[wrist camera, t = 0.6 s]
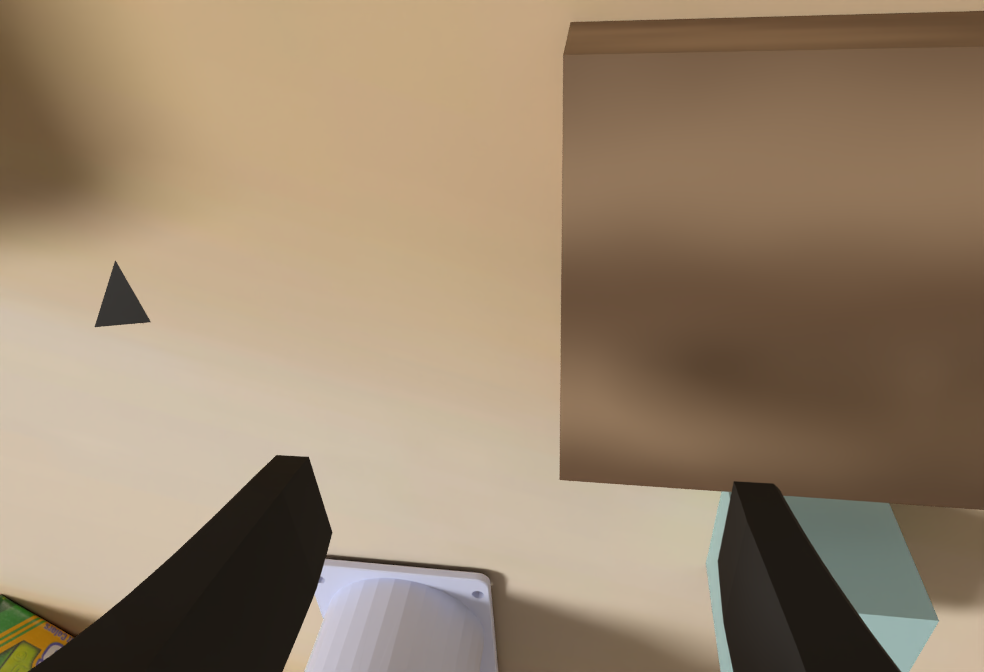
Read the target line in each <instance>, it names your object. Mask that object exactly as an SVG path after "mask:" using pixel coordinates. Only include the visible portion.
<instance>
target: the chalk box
mask: <svg viewBox="0 0 984 672" xmlns="http://www.w3.org/2000/svg"><path fill="white" fill-rule="evenodd" d="M73 638H74V637H73V636H71V635H69V634H67V633H66V632H64V631H62V630H61V629H59V628H57V627H55V626H54V625H52V624H50V623H49V622H47V621H45V620H43V619H42V618H40V617H38V616H36V615H35V614H33V613H31V612H29V611H28V610H26V609H24V608H23V607H21V606H19V605H17V604H16V603H14V602H13V601H11V600H9V599H8V598H6V597H5V596H3V595H0V672H28V671H29V670H31V669H32V668H33V667H35V666H36V665H38V664H39V663H41V662H42V661H44V660H45V659H46V658H48V657H49V656H51V655H52V654H53V653H55V652H56V651H57V650H59V649H60V648H62V647H63V646H64V645H66V644H67V643H68V642H69V641H71V640H72V639H73Z"/></svg>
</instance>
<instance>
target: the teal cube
mask: <svg viewBox="0 0 984 672" xmlns="http://www.w3.org/2000/svg"><path fill="white" fill-rule="evenodd" d="M730 497H731V492H724V491H722V492H721V497H720V501H719V506H718V510H717V515H716V520H715V524H714V529H713V534H712V538H711V543H710V548H709V552H708V557H707V562H706V568H707V575H708V583H709V590H710V597H711V605H712V612H713V620H714V627H715V635H716V642H717V649H718V657H719V664H720V672H733V669H732V664H731V659H730V654H729V649H728V644H727V639H726V634H725V629H724V624H723V615H722V605H721V595H720V583H719V572H718V556H719V552H720V547H721V542H722V537H723V532H724V527H725V522H726V517H727V512H728V507H729V502H730ZM784 498H785V500H786V502H787V503H788V505H789V507H790V509H791V510H792V512H793V514H794V516H795V517H796V519H797V521H798V522H799V524H800V526H801V527H802V529H803V531H804V532H805V534H806V536H807V537H808V539H809V540H810V542H811V544H812V545H813V547H814V548H815V550H816V552H817V553H818V555H819V556H820V558H821V559H822V561H823V563H824V564H825V566H826V567H827V569H828V570H829V572H830V573H831V575H832V576H833V578H834V579H835V581H836V582H837V584H838V585H839V587H840V588H841V589H842V591H843V592H844V594H845V595H846V597H847V598H848V600H849V601H850V603H851V604H852V605H853V607H854V608H855V610H856V611H857V613H858V614H859V616H860V617H861V618H862V620H863V621H864V623H865V624H866V625H867V627H868V628H869V629H870V631H871V632H872V634H873V635H874V636H875V638H876V639H877V640H878V642H879V643H880V644H881V646H882V647H883V648H884V650H885V651H886V652H887V654H888V655H889V656H890V658H891V659H892V660H893V661H894V663H895V664H896V665H897V667H898V668H899V669H900V671H901V672H909V671H910V669H911V668H912V666H913V664H914V663H915V661H916V659H917V657H918V656H919V654H920V652H921V651H922V649H923V647H924V646H925V644H926V642H927V641H928V639H929V637H930V635H931V634H932V632H933V630H934V629H935V627H936V625H937V624H938V622H939V620H938V617H937V615H936V612H935V610H934V608H933V605H932V603H931V601H930V598H929V596H928V594H927V591H926V589H925V587H924V584H923V582H922V579H921V577H920V575H919V572H918V570H917V568H916V565H915V563H914V561H913V558H912V556H911V554H910V551H909V549H908V546H907V544H906V542H905V539H904V537H903V535H902V532H901V530H900V528H899V525H898V523H897V521H896V518H895V516H894V513H893V511H892V509H891V506H890V504H889V503H880V502H866V501H852V500H838V499H824V498H809V497H795V496H784Z"/></svg>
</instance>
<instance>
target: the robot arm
mask: <svg viewBox="0 0 984 672" xmlns="http://www.w3.org/2000/svg"><path fill="white" fill-rule="evenodd" d="M331 535H332V530H331V527H330V524H329V520H328V517H327V514H326V511H325V508H324V504H323V501H322V498H321V495H320V492H319V488H318V485H317V482H316V479H315V476H314V472H313V469H312V466H311V463H310V460H309V457H299V456H281V455H276V456H275V457H274V458H273V459H272V460H271V461H270V462H269V463H268V464H267V465H266V466H265V467H264V468H263V469H262V470H260V471H259V472H258V473H257V474H256V475H255V476H254V477H253V478H252V479H251V480H250V481H249V482H248V483H247V484H246V485H245V486H244V487H243V488H242V489H241V490H240V491H239V492H238V493H237V494H236V495H235V496H234V497H233V498H232V499H231V500H230V501H229V502H228V503H227V504H226V505H225V506H224V507H223V508H222V509H221V510H220V511H219V512H218V513H217V514H216V515H215V516H214V517H213V518H212V519H211V520H209V521H208V522H207V523H206V524H205V525H204V526H203V527H202V528H201V529H200V530H199V531H198V532H197V533H196V534H195V535H194V536H193V537H192V538H191V539H189V540H188V541H187V542H186V543H185V544H184V545H183V546H182V547H181V548H180V549H179V550H178V551H177V552H176V553H175V554H174V555H172V556H171V557H170V558H169V559H168V560H167V561H166V562H165V563H164V564H162V565H161V566H160V567H159V568H158V569H157V570H156V571H155V572H153V573H152V574H151V575H150V576H149V577H148V578H147V579H145V580H144V581H143V582H142V583H141V584H140V585H139V586H137V587H136V588H135V589H134V590H133V591H132V592H131V593H130V594H128V595H127V596H126V597H125V598H124V599H122V600H121V601H120V602H119V603H118V604H116V605H115V606H114V607H113V608H112V609H110V610H109V611H108V612H107V613H105V614H104V615H103V616H102V617H100V618H99V619H98V620H97V621H95V622H94V623H93V624H92V625H90V626H89V627H88V628H86V629H85V630H84V631H82V632H81V633H80V634H79V635H77V636H76V637H75V638H73V639H72V640H71V641H69V642H68V643H67V644H66V645H64V646H63V647H62V648H60V649H59V650H57V651H56V652H55V653H53V654H52V655H51V656H49V657H48V658H46V659H45V660H44V661H42V662H41V663H39V664H38V665H36V666H35V667H33V668H32V669H31V670H29V671H28V672H282V671H283V669H284V667H285V664H286V662H287V660H288V657H289V655H290V652H291V650H292V648H293V645H294V643H295V640H296V638H297V636H298V633H299V631H300V628H301V626H302V624H303V621H304V619H305V616H306V614H307V611H308V609H309V606H310V604H311V602H312V599H313V596H314V594H315V597H316V600H317V603H318V606H319V608H320V611H321V614H322V617H323V622H322V625H321V628H320V631H319V633H318V636H317V639H316V641H315V644H314V647H313V649H312V652H311V655H310V658H309V660H308V663H307V666H306V668H305V671H304V672H498V662H497V650H496V639H495V628H494V617H493V606H492V594H491V583H490V579H489V578H488V577H487V576H486V575H484V574H481V573H475V572H464V571H453V570H442V569H431V568H420V567H409V566H399V565H388V564H377V563H366V562H355V561H344V560H333V559H325V558H326V554H327V551H328V547H329V543H330V539H331ZM718 572H719V583H720V595H721V605H722V615H723V624H724V629H725V634H726V639H727V644H728V649H729V654H730V659H731V664H732V669H733V672H901V671H900V669H899V668H898V667H897V665H896V664H895V663H894V661H893V660H892V659H891V658H890V656H889V655H888V654H887V652H886V651H885V650H884V648H883V647H882V646H881V644H880V643H879V642H878V640H877V639H876V638H875V636H874V635H873V634H872V632H871V631H870V629H869V628H868V627H867V625H866V624H865V623H864V621H863V620H862V618H861V617H860V616H859V614H858V613H857V611H856V610H855V608H854V607H853V605H852V604H851V603H850V601H849V600H848V598H847V597H846V595H845V594H844V592H843V591H842V589H841V588H840V587H839V585H838V584H837V582H836V581H835V579H834V578H833V576H832V575H831V573H830V572H829V570H828V569H827V567H826V566H825V564H824V563H823V561H822V559H821V558H820V556H819V555H818V553H817V552H816V550H815V548H814V547H813V545H812V544H811V542H810V540H809V539H808V537H807V536H806V534H805V532H804V531H803V529H802V527H801V526H800V524H799V522H798V521H797V519H796V517H795V516H794V514H793V512H792V510H791V509H790V507H789V505H788V503H787V502H786V500H785V498H784V496H783V495H782V493H781V491H780V489H779V488H778V487H777V486H776V485H775V484H774V483H756V482H738V481H734V482H733V487H732V492H731V497H730V502H729V507H728V512H727V517H726V522H725V527H724V532H723V537H722V542H721V547H720V552H719V556H718Z"/></svg>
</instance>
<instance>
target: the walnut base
mask: <svg viewBox="0 0 984 672" xmlns="http://www.w3.org/2000/svg"><path fill="white" fill-rule="evenodd" d="M560 480H568V481H582V482H596V483H610V484H625V485H639V486H653V487H667V488H681V489H696V490H710V491H724V492H732V487H733V482H734V481H738V482H756V483H774V484H775V485H776V486H777V487H778V488H779V489H780V491H781V493H782V495H783V496H795V497H809V498H824V499H838V500H852V501H866V502H880V503H895V504H909V505H923V506H937V507H952V508H966V509H980V510H984V11H970V12H933V13H896V14H859V15H822V16H785V17H748V18H711V19H674V20H637V21H600V22H571V23H570V28H569V32H568V37H567V41H566V46H565V50H564V55H563V161H562V275H561V388H560Z"/></svg>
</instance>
